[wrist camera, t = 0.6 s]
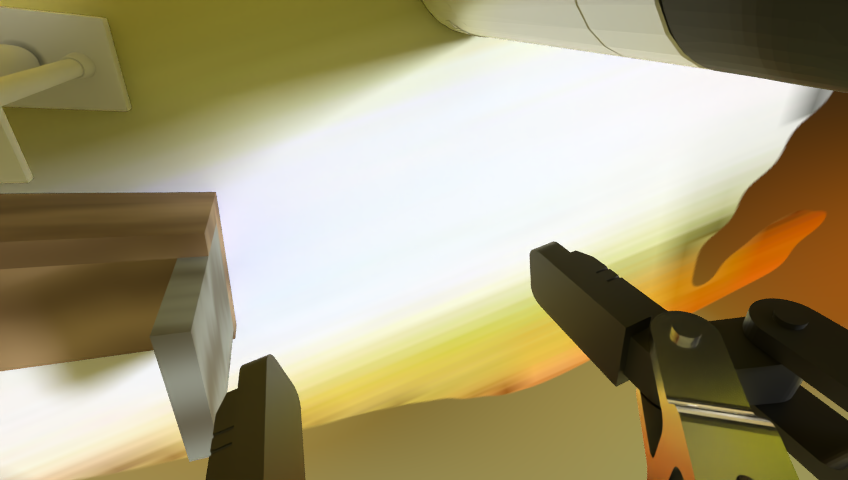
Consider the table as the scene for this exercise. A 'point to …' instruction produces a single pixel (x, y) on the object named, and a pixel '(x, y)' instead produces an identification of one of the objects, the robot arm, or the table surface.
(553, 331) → the table surface
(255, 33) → the table surface
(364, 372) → the table surface
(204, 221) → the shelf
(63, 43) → the long lego plate
